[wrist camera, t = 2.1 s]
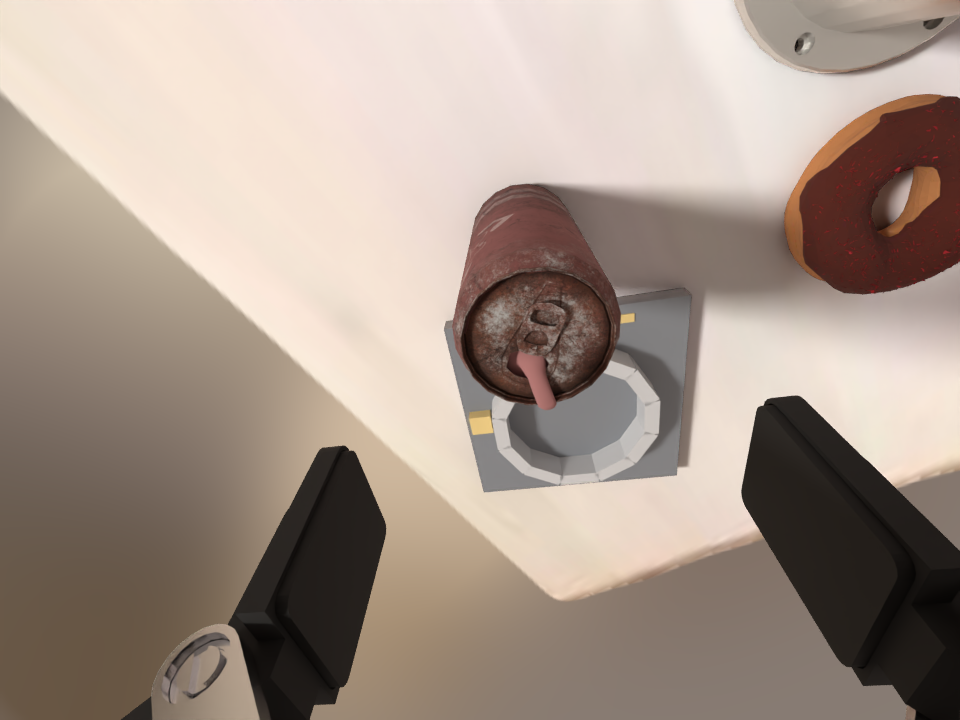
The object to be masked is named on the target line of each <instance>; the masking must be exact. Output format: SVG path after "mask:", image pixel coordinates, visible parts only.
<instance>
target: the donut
mask: <svg viewBox="0 0 960 720" xmlns="http://www.w3.org/2000/svg"><path fill="white" fill-rule="evenodd" d="M909 168H914V171H913V181H912V185H911V189H910V193H909V197H908V201H907V203H906V206H905V208H904V211H903V212H902V214H901V215H900V217H899V218H898V219H897V220H896V221H895V222H894V223H893V224H891V225H890V226H888V227H886V228H884V229H882V230H880V231H877V230H876V229H875V226H874V222H873V221H872V218H871V210H872V205H873V202H874V200H875V198H876V197H878V196H877V194H878V192H879V190H880V189H881V188H882V187H883V186H884V185H885V184H886V183H887V182H888V181H889V180H890V179H893V178H892V177H893V176H894V175H895V174H896V173H899V172H902V171H903V170H904V171H905V170H906V169H909ZM784 226H785V234H786V237H787V241H788V245H789V249H790V251H791V253H792V255H793V257H794V259H795V260H796V261H797V262H798V264H799V265H800V266H801V267H802V268H803V269H804V270H805V271H806V272H807V273H809V274H810V275H811V276H813V277H815V278H817V279H819V280H823V281H826V282H827V283H828V284H829V285H831V286H832V287H833V288H835V289H837V290H839V291H841V292H843V293H852V294H862V295H863V294H871V293H879V292H883V293H884V292H886V291H892V290H895V289H896V290H897V289H898V288H903V287H906V286H907V287H908V286H909V285H912V284H915V283H917V282H920V281H925V279H928V278H931V277H933V276H935V275H937V274H938V273H940V272H942V271H944V270H946V269H947V268H951V267H952V266H953V265H955V264H956V263H958V262H960V99H959V98H958V97H951V96H948V97H945V96H941V95H933V94H923V95H913V96H908V97H904V98H901V99H898V100H895V101H891V102H888V103H886V104H884V105H882V106H879V107H877V108H875V109H873V110H871V111H869V112H867V113H865V114H864V115H862V116H860V117H859V118H857V119H855V120H854V121H852V122H851V123H850V124H848V125H847V126H846V127H845V128H843V129H842V130H841V131H839V132H838V133H837V134H836V135H835V136H834V137H833V138H832V139H831V140H830V141H829V142H828V143H827V144H826V145H825V146H824V147H823V148H822V149H821V150H820V151H819V152H818V153H817V154H816V155H815V157H814V158H813V159H812V160H811V162H810V163H809V165H808V166H807V168H806V169H805V171H804V172H803V174H802V176H801V178H800V180H799V181H798V183H797V185H796V187H795V188H794V190H793V192H792V194H791V196H790V198H789V201H788V203H787V206H786V210H785V217H784Z"/></svg>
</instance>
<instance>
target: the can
mask: <svg viewBox="0 0 960 720" xmlns="http://www.w3.org/2000/svg"><path fill="white" fill-rule="evenodd" d="M620 323H621V311H620V308H619V305H618V302H617V298H616V295H615V292H614V289H613V288H612V286H611V284H610V282H609V281H608V279H607V277H606V275H605V274H604V272H603V270H602V268H601V267H600V265H599V263H598V262H597V260H596V258H595V256H594V255H593V253H592V251H591V249H590V248H589V246H588V244H587V243H586V241H585V239H584V237H583V236H582V234H581V232H580V230H579V229H578V227H577V225H576V224H575V222H574V220H573V218H572V217H571V215H570V213H569V211H568V210H567V208H566V207H565V206H564V204H563V203H562V202H561V200H560V199H559V198H558V197H557V196H556V195H554V194H553V193H551V192H550V191H548V190H547V189H545V188H543V187H538V186H534V185H530V184H522V185H512V186H509V187H507V188H505V189H503V190H500V191H498V192H496V193H495V194H494V195H493V196H491V197H490V198H489V199H488V200H487V201H486V202H485V203H484V204H483V205H482V207H481V209H480V211H479V213H478V214H477V216H476V218H475V222H474V226H473V231H472V236H471V240H470V245H469V249H468V254H467V259H466V263H465V268H464V272H463V277H462V281H461V286H460V291H459V295H458V300H457V305H456V309H455V314H454V319H453V324H452V328H453V335H454V342H455V348H456V350H457V352H458V354H459V356H460V358H461V360H462V362H463V363H464V365H465V367H466V369H467V370H468V371H469V372H470V374H471V376H472V377H473V378H474V379H475V380H476V381H477V382H478V383H479V384H480V385H481V386H482V387H483V388H484V389H485V390H486V391H488V392H489V393H491V394H493V395H495V396H497V397H499V398H501V399H503V400H505V401H508V402H513V403H518V404H523V405H528V406H530V405H538V407H540V408H541V409H543V410H551V409H553V408H554V407H555V406H556V405H557V402H560V401H563V400H566V399H570V398H573V397H574V396H576V395H577V394H579V393H581V392H582V391H584V390H585V389H587V388H589V387H590V386H592V385H593V383H594V382H595V381H596V380H597V379H598V378H599V377H600V376H601V374H602V373H603V372H604V371H605V370H606V369H607V367H608V364H609V362H610V360H611V358H612V355H613V353H614V351H615V346H616V344H617V342H618V340H619V337H620Z"/></svg>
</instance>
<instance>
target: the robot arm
mask: <svg viewBox="0 0 960 720" xmlns="http://www.w3.org/2000/svg"><path fill="white" fill-rule="evenodd" d="M734 3H735V6H736V8H737V11H738V13H739V15H740V18H741V20H742V22H743V25H744V27H745V29H746V30H747V32H748V33H749V34H750V36H751V37H752V38H753V40H754V41H755V42H756V44H757V45H758V46H759V48H760V49H762V50H763V51H764V52H766V53H767V54H768V55H769V56H771V57H772V58H773V59H775V60H776V61H777V62H779V63H782V64H784V65H787V66H789V67H791V68H794V69H796V70H800V71H807V72H815V73H836V72H848V71H853V70H859V69H864V68H869V67H873V66H876V65H878V64H881V63H883V62H886V61H889V60H891V59H894V58H896V57H899V56H901V55H903V54H905V53H907V52H908V51H910V50H912V49H914V48H915V47H917V46H919V45H921V44H922V43H924V42H926V41H928V40H930V39H931V38H932V37H934V36H935V35H936V34H938V33H939V32H940V31H942V30H943V29H944V28H946V27H947V26H948V25H950V24H951V23H952V22H954V21H955V20H956V19H958V18H959V17H960V0H734ZM796 41H798V44H799V45H798V48H797V49H796V50H795V47H794V46H795V43H796ZM741 493H742V499H743V502H744V505H745V507H746V509H747V510H748V512H749V513H750V515H751V517H752V518H753V520H754V522H755V523H756V525H757V527H758V528H759V530H760V532H761V533H762V535H763V537H764V538H765V540H766V542H767V543H768V545H769V547H770V548H771V550H772V551H773V553H774V555H775V556H776V558H777V560H778V561H779V563H780V565H781V566H782V568H783V570H784V571H785V573H786V575H787V576H788V578H789V580H790V581H791V583H792V584H793V586H794V588H795V589H796V591H797V592H798V594H799V596H800V598H801V599H802V601H803V603H804V604H805V606H806V607H807V609H808V611H809V613H810V614H811V616H812V617H813V619H814V621H815V622H816V624H817V626H818V627H819V629H820V631H821V632H822V634H823V636H824V637H825V639H826V640H827V642H828V644H829V646H830V647H831V649H832V650H833V652H834V654H835V655H836V657H837V658H838V660H839V661H840V662H841V663H842V664H844V665H845V666H846V667H852V668H853V670H854V672H855V673H856V675H857V677H858V678H859V680H860V681H861V683H862V685H863V686H871V685H872V686H873V685H893V686H894V688H895V689H896V691H897V692H898V694H899V695H900V697H901V698H902V700H903V701H904V703H905V704H906V705H907V707H906V717H905V720H960V551H959V550H958V549H957V548H956V547H955V546H954V545H953V544H952V543H951V542H950V541H949V540H948V539H947V538H946V537H945V536H944V535H943V534H942V533H941V532H940V531H939V530H938V529H937V528H936V527H935V526H934V525H933V524H932V523H930V521H929V520H928V519H927V518H925V516H923V514H921V513H920V512H919V511H918V510H917V509H916V508H915V507H914V506H913V505H912V504H911V503H910V502H909V501H908V500H907V499H906V498H905V497H904V496H903V495H902V494H901V493H900V492H899V491H898V490H897V489H896V488H895V487H894V486H893V485H892V484H891V483H890V482H889V481H888V480H887V479H886V478H885V477H884V476H883V475H882V474H881V473H880V472H879V471H878V470H877V469H876V468H875V467H873V466H872V465H871V464H870V463H869V462H868V461H867V460H866V459H865V458H863V457H862V456H861V455H860V454H859V453H858V452H857V451H856V450H855V449H854V448H853V447H852V446H851V445H850V444H849V443H848V442H847V441H846V440H845V439H844V438H843V437H842V436H841V435H840V434H839V433H838V432H837V431H836V430H835V429H834V428H833V427H832V426H831V425H830V424H829V423H828V422H827V421H826V420H825V419H824V418H823V417H822V416H821V415H819V414H818V413H817V412H816V411H815V410H814V409H813V408H812V407H811V406H810V405H809V404H808V403H807V402H806V401H805V400H804V399H803V398H802V397H800V396H787V397H778V398H770V399H767V400H766V401H765V403H764V406H760V407H758V408H757V411H756V416H755V421H754V427H753V432H752V437H751V442H750V448H749V453H748V458H747V463H746V469H745V474H744V479H743V484H742V491H741ZM385 535H386V524H385V521H384V518H383V516H382V513H381V511H380V509H379V506H378V504H377V502H376V499H375V497H374V495H373V492H372V490H371V488H370V485H369V483H368V481H367V478H366V476H365V474H364V472H363V469H362V467H361V465H360V462H359V460H358V458H357V455H356V453H355V452H354V451H349V449H348V448H347V447H346V446H335V447H327V448H322V449H320V450H319V452H318V453H317V455H316V457H315V459H314V461H313V463H312V465H311V467H310V469H309V471H308V473H307V474H306V476H305V479H304V480H303V482H302V485H301V486H300V488H299V490H298V492H297V494H296V496H295V498H294V500H293V502H292V504H291V506H290V508H289V509H288V510H287V512H286V514H285V515H284V517H283V519H282V521H281V523H280V525H279V526H278V528H277V530H276V532H275V534H274V536H273V538H272V540H271V542H270V544H269V546H268V548H267V550H266V552H265V554H264V556H263V558H262V559H261V561H260V563H259V565H258V567H257V569H256V571H255V573H254V575H253V577H252V579H251V581H250V583H249V585H248V587H247V588H246V590H245V592H244V594H243V597H242V598H241V600H240V602H239V604H238V606H237V608H236V610H235V612H234V614H233V616H232V618H231V619H230V621H229V623H228V625H227V624H216V625H212V626H208V627H205V628H203V629H201V630H199V631H197V632H196V633H194V634H192V635H191V636H190V637H188V638H187V639H186V640H184V641H183V642H182V643H181V644H179V646H178V647H177V648H176V649H175V650H174V651H173V652H172V653H171V654H170V655H169V656H168V658H167V659H166V661H165V662H164V664H163V665H162V667H161V668H160V670H159V672H158V674H157V677H156V679H155V681H154V684H153V689H152V696H151V697H150V698H149V699H147V700H146V701H145V702H143V703H142V704H141V705H139V706H138V707H137V708H135V709H134V710H133V711H132V712H130V713H129V714H128V715H127V716H125V717H124V718H123V719H121V720H310V716H311V713H312V710H313V706H314V705H321V704H322V705H323V704H335V703H336V699H337V695H338V692H339V688H340V687H344V686H345V685H346V683H347V681H348V678H349V675H350V671H351V667H352V663H353V659H354V656H355V652H356V648H357V644H358V640H359V637H360V633H361V629H362V625H363V621H364V617H365V613H366V610H367V606H368V602H369V598H370V594H371V590H372V586H373V583H374V579H375V575H376V571H377V567H378V563H379V559H380V555H381V552H382V548H383V544H384V540H385Z"/></svg>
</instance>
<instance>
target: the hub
mask: <svg viewBox="0 0 960 720" xmlns="http://www.w3.org/2000/svg"><path fill="white" fill-rule="evenodd" d="M616 298H617V302H618V305H619V308H620V311H621V323H620V337H619V340H618V342H617V344H616V346H615V351H614V353H613V355H612V358H611V360H610V362H609V364H608V367H607V369H606V370H605V371H604V372H603V373H602V374H601V376H600V377H599V378H598V379H597V380H596V381H595V382H594V383H593V385H592V386H590V387H589V388H587V389H585V390H584V391H582V392H581V393H579V394H577V395H576V396H574V397H573V398H570V399H566V400H563V401H560V402H557V405H556V406H555V407H554V408H553V409H551V410H543V409H541V408H540V407H538V405H530V406H528V405H523V404H518V403H513V402H508V401H505V400H503V399H501V398H499V397H497V396H495V395H493V394H491V393H489V392H488V391H486V390H485V389H484V388H483V387H482V386H481V385H480V384H479V383H478V382H477V381H476V380H475V379H474V378H473V377H472V376H471V374H470V372H469V371H468V370H467V369H466V367H465V365H464V363H463V362H462V360H461V358H460V356H459V354H458V352H457V350H456V348H455V342H454V335H453V328H452V324H453V321H446V323H445V327H444V332H445V336H446V340H447V344H448V348H449V352H450V356H451V360H452V364H453V368H454V372H455V376H456V381H457V385H458V389H459V393H460V397H461V401H462V405H463V409H464V413H465V417H466V421H467V425H468V430H469V434H470V438H471V442H472V446H473V450H474V454H475V458H476V462H477V466H478V470H479V474H480V479H481V483H482V487H483V491H484V492H494V491H505V490H516V489H528V488H539V487H550V486H562V485H573V484H584V483H595V482H607V481H618V480H629V479H640V478H652V477H663V476H674V475H677V466H678V454H679V442H680V429H681V417H682V405H683V392H684V380H685V368H686V356H687V343H688V331H689V319H690V306H691V294H690V293H689V292H688V291H687V290H686V289H685V288H680V289H672V290H665V291H658V292H651V293H644V294H637V295H630V296H623V297H616Z"/></svg>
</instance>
